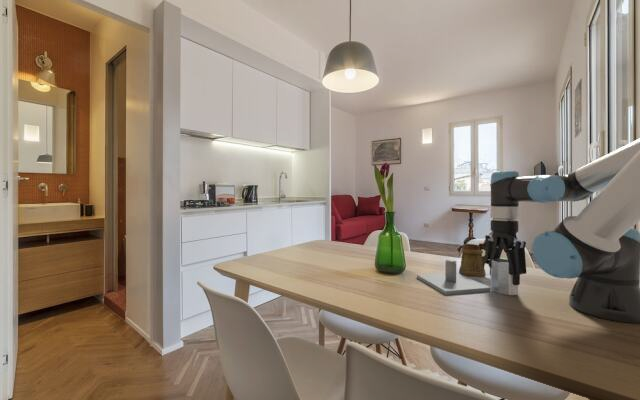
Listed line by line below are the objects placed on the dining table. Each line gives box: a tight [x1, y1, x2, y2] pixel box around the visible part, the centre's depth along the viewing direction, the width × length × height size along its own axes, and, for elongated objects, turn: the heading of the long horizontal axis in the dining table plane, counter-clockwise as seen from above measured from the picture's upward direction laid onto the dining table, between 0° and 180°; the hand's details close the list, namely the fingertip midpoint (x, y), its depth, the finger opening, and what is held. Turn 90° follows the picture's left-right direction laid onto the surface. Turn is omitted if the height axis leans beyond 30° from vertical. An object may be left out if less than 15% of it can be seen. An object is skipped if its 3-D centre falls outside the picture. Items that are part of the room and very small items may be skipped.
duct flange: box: [416, 259, 492, 296], centre depth 99 cm, size 18×16×8 cm
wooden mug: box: [458, 231, 493, 277], centre depth 111 cm, size 9×14×18 cm, turn 71°
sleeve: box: [491, 257, 516, 296], centre depth 91 cm, size 7×7×10 cm
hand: (503, 290), depth 91 cm, fingers closed on sleeve, 7 cm apart
